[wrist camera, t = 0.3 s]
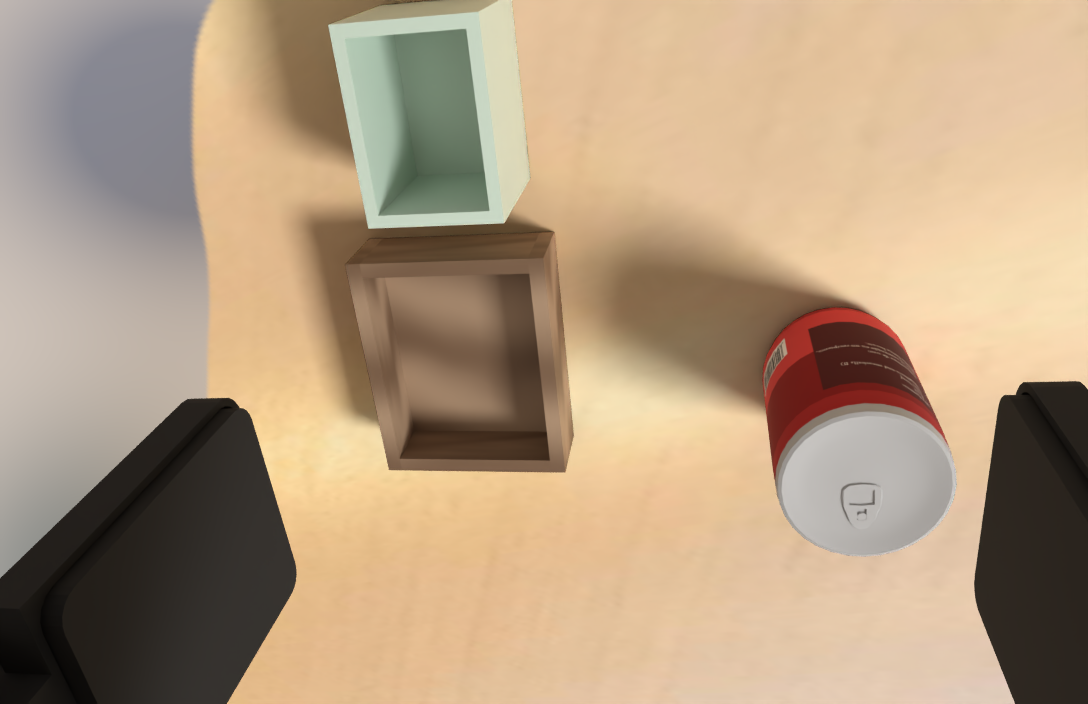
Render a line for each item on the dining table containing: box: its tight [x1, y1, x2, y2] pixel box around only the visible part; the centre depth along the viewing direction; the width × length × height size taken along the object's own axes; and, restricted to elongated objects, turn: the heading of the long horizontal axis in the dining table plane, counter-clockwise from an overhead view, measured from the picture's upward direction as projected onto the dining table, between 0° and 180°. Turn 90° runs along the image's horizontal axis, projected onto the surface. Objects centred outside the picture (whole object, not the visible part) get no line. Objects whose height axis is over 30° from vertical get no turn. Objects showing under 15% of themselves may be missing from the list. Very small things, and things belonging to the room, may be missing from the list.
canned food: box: [762, 307, 957, 556], centre depth 43 cm, size 8×8×11 cm
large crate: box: [345, 232, 574, 472], centre depth 49 cm, size 13×10×4 cm
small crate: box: [328, 0, 530, 229], centre depth 41 cm, size 9×6×7 cm
